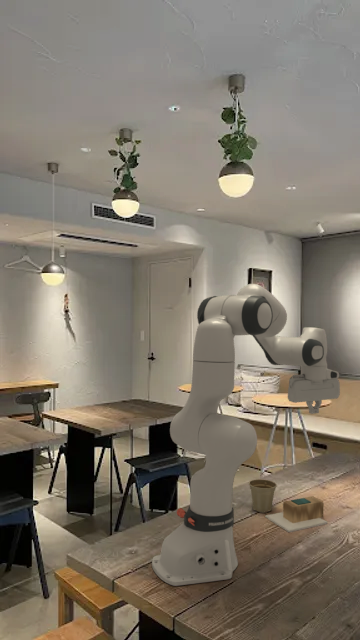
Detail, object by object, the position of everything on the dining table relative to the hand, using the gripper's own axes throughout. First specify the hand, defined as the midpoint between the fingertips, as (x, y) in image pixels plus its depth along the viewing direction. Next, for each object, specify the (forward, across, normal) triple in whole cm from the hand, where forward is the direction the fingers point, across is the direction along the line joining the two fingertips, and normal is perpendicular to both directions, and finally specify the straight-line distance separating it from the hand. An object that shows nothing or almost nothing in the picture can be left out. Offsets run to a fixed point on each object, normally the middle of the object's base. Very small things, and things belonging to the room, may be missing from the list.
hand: (313, 413), depth 168 cm
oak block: (+28, -6, -9) cm, 30 cm away
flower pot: (+31, -19, +3) cm, 37 cm away
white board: (+31, -15, -9) cm, 36 cm away
